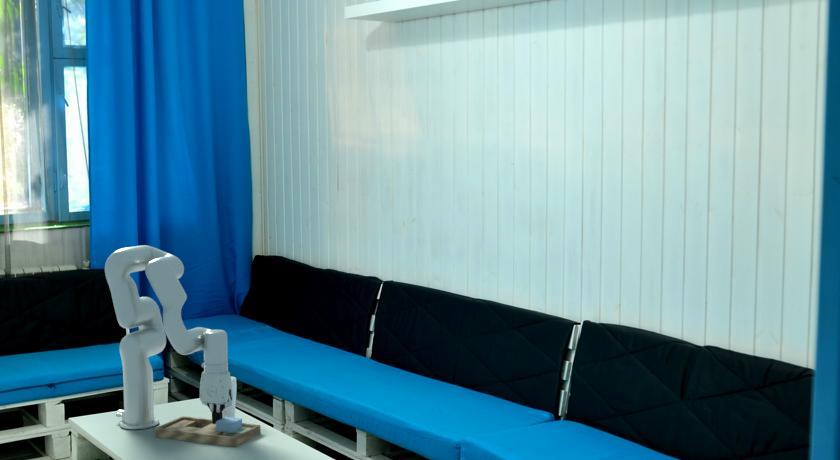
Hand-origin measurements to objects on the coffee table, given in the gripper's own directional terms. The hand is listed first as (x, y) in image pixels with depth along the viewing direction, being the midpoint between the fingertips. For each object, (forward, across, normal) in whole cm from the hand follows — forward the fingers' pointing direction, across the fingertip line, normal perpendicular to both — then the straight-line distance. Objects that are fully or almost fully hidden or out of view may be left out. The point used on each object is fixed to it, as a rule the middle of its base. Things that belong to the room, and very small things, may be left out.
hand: (217, 423), depth 304 cm
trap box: (+3, -2, -3) cm, 5 cm away
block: (+1, +5, -1) cm, 5 cm away
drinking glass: (+3, -4, +12) cm, 13 cm away
